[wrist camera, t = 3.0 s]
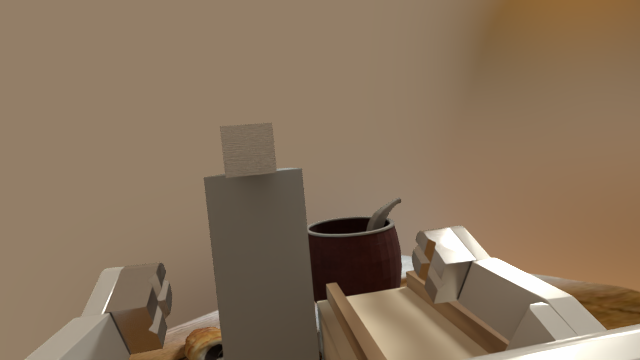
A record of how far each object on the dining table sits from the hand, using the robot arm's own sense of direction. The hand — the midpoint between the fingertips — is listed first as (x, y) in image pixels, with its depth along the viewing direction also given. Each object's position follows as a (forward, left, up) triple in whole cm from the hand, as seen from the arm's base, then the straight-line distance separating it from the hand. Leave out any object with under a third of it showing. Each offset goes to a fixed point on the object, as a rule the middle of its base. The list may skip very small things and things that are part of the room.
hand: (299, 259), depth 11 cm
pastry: (+11, -39, -24) cm, 47 cm away
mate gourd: (-11, -36, -24) cm, 44 cm away
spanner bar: (+2, -20, +3) cm, 20 cm away
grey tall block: (+2, -25, -23) cm, 34 cm away
